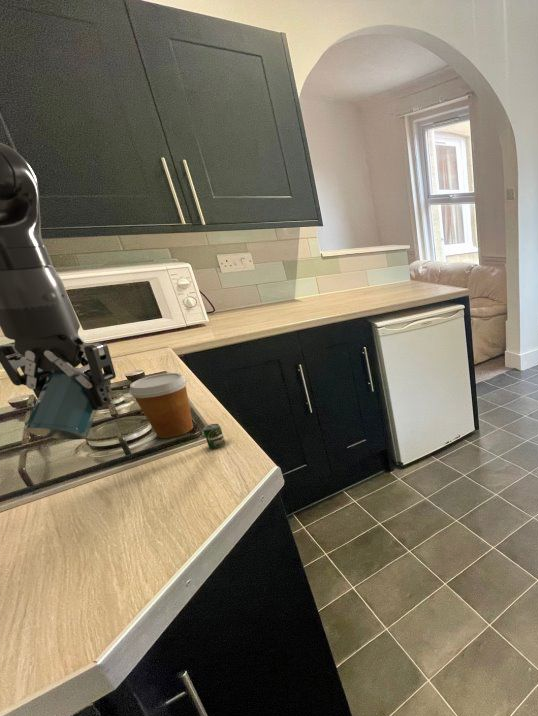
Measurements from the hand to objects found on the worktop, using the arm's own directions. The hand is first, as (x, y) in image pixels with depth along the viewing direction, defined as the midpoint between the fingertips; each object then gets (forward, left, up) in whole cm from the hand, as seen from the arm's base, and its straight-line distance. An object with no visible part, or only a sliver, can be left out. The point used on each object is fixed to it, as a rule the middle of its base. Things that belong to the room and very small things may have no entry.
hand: (78, 408), depth 65 cm
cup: (0, -4, -2) cm, 5 cm away
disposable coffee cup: (-5, +23, -16) cm, 28 cm away
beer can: (+8, +15, -16) cm, 23 cm away
